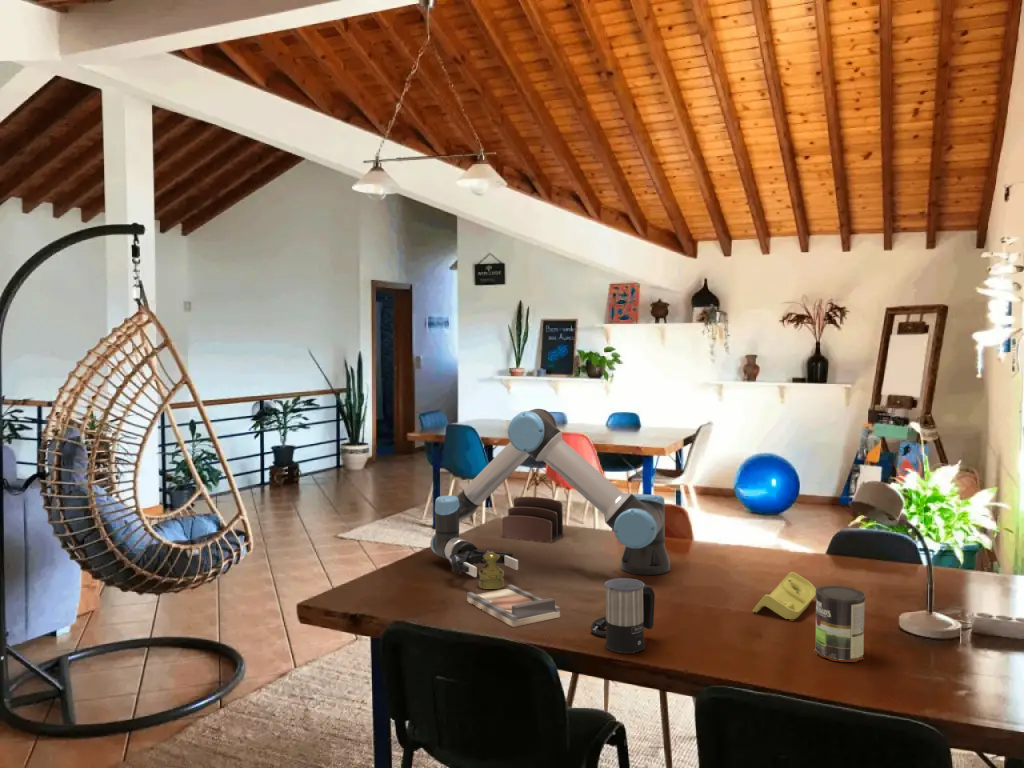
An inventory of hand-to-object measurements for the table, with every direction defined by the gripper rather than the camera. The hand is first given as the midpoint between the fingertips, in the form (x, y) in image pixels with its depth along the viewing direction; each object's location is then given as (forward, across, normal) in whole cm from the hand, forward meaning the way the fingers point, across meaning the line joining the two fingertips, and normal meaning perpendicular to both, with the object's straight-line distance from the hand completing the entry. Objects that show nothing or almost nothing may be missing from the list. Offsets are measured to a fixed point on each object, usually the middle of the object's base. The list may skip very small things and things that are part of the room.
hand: (496, 568), depth 235 cm
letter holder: (-47, -42, -6) cm, 64 cm away
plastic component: (+56, -55, -6) cm, 79 cm away
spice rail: (+17, +6, -6) cm, 19 cm away
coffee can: (+84, -40, -6) cm, 93 cm away
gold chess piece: (-3, 0, -6) cm, 7 cm away
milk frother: (+50, -3, -6) cm, 51 cm away
